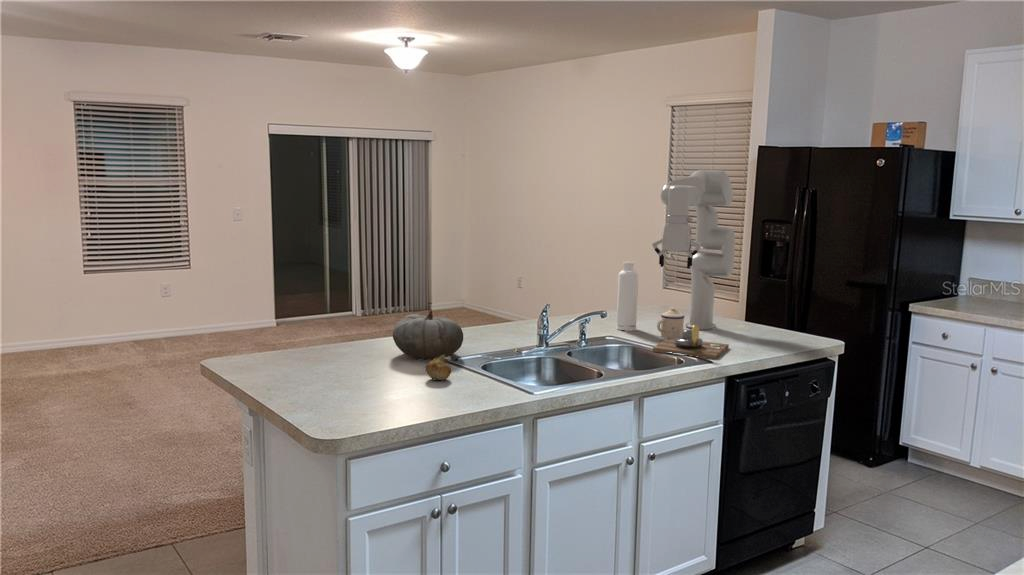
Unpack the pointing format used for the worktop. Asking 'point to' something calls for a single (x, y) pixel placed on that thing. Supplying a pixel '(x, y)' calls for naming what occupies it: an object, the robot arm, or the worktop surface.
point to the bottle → (627, 297)
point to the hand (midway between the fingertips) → (675, 267)
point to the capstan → (689, 338)
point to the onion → (439, 368)
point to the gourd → (427, 336)
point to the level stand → (692, 349)
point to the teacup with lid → (671, 324)
